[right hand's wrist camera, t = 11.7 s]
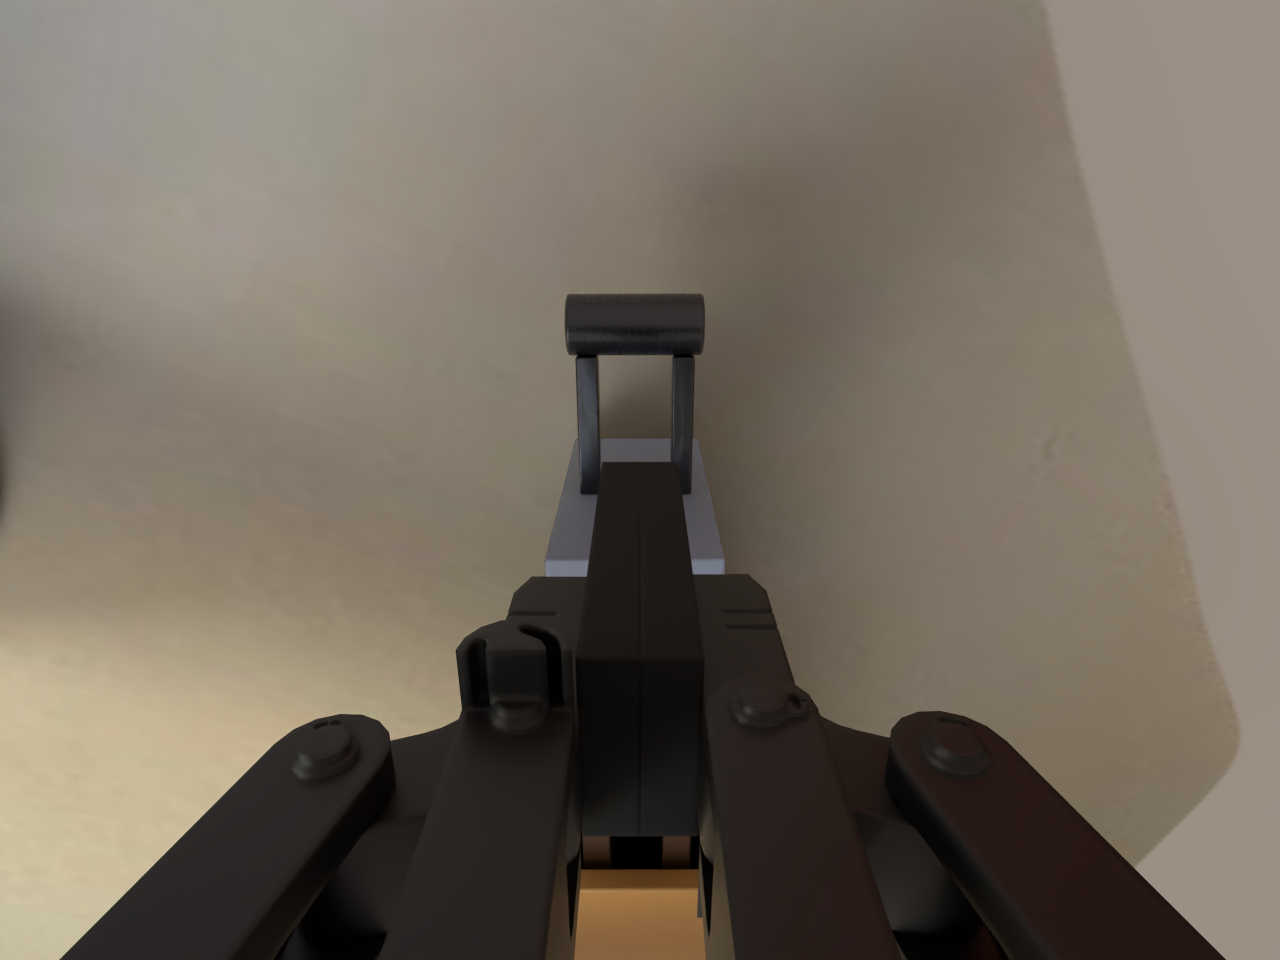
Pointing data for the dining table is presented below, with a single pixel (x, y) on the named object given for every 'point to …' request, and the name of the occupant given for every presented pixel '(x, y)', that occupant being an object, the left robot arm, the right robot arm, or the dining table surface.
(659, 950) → the cabinet
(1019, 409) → the dining table surface
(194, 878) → the right robot arm
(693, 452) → the drawer
